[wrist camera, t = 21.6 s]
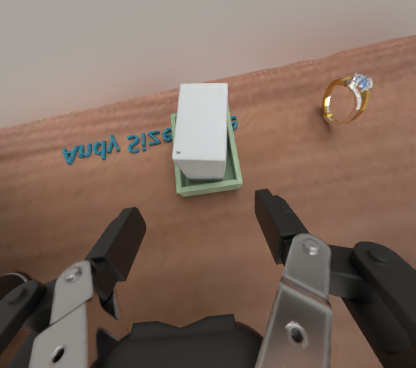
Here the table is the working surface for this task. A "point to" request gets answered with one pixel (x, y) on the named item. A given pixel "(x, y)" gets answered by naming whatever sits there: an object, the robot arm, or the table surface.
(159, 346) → the robot arm
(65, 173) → the table surface
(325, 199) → the table surface
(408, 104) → the table surface
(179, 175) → the holder
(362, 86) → the ring
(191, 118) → the cosmetics box
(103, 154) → the nameplate
